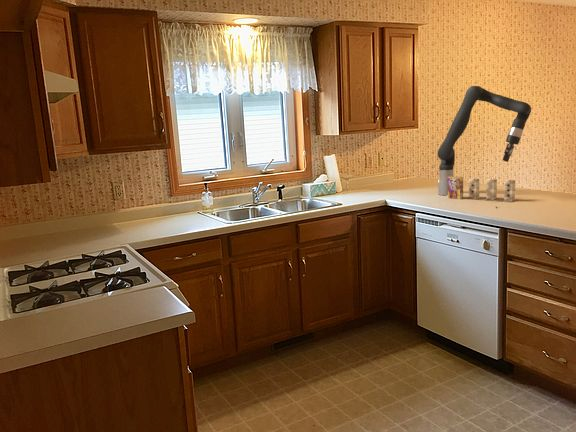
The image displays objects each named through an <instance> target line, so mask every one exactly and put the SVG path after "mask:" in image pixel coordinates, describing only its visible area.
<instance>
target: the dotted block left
mask: <svg viewBox="0 0 576 432" xmlns="http://www.w3.org/2000/svg"><path fill="white" fill-rule="evenodd" d="M468 196H469V198H472V199H477V198H479V197H480V178H473V177H472V178H470V179H468Z"/></svg>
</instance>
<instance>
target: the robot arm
mask: <svg viewBox="0 0 576 432" xmlns="http://www.w3.org/2000/svg"><path fill="white" fill-rule="evenodd" d="M463 97H464V98H463V100H462V102H461V105H460V107H459V109H458V111H457V113H456V115H455V117H454V119H453V120H452V123H451V125H450V128H449V129H448V131H447V134H446V136H445V138H444V140H443V142H442V143H441V145H440V147H439V148H438V150H437V157H438V159H439V160H440V164H439V166H438V173H439V174H438V175H439V176H438V177H439V178H438V181H437V189H438V191H437V194H438V195H440V196H448V177H450V176H453V177H455V175H454V166H455V163H456V162H455V160H456V158H455V156H456V155H455V153H456V152H455V151H456V150H455V149H454V147H455V144H456V142H457V141H458V140H459V138H461V136H462V135H463V133H464V132H465V131H466V129H467V126H468V124H469V122H470V118H471V114H472V113H471V112H472V110H473V107H474V106H475V105H476V103H477V101H481V102H486V103H489V104H492V105H494V106H496V107H498V108H501V109H502V110H506V111H510V112H514V113H517V115H516V117H515V118H514V119H513V121H512V125H511V127H510V129H509V131H508V133H507V136H506V139H505V142H506V143H507V144H506V147H505V150H504V155H503V158H502V162H509V160H510V157H511V156H512V154H513V152H514V149H515V145H517V146H518V145H519V144H520V141H521V138H522V135H523V132H524V128H525V126H526V123H527V121H528V119H529V117H530V115H531V113H532V106H531V105H530V104H529V103H528V102H524V101H521V100H516V99H514V98H510V97H507V96H504V95H501V94H496V93H495V92H492V91H489V90H487V89H486V88H483V87H482V86H479V85H471V86H470V87H468V88H467V90H466V92H465V94H464V96H463Z"/></svg>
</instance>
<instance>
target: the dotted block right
mask: <svg viewBox="0 0 576 432" xmlns="http://www.w3.org/2000/svg"><path fill="white" fill-rule="evenodd" d="M503 187H504V191H503V193H504V194H503V195H504V196H503V199H504V201H514V200H515V199H516V180H515V179H506V180H504V186H503Z"/></svg>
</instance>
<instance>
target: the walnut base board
mask: <svg viewBox="0 0 576 432" xmlns="http://www.w3.org/2000/svg"><path fill="white" fill-rule="evenodd" d="M464 200H472V201H473V200H474V201H488V202H498V203H499V202H501V203H515V202H517V201H518V202H519V199H516V198H515V200H514V201H504V198H499V197H498V198H497V199H494V200H490V199H486V196H479V198H477V199H472V198H469V197H466V198H464Z"/></svg>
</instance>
